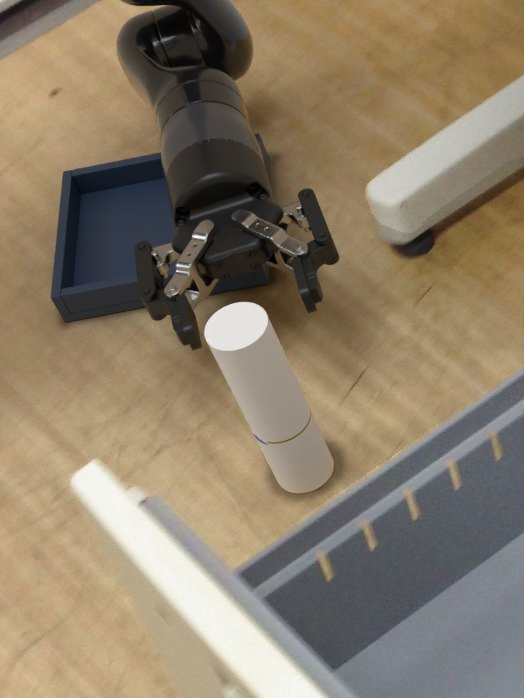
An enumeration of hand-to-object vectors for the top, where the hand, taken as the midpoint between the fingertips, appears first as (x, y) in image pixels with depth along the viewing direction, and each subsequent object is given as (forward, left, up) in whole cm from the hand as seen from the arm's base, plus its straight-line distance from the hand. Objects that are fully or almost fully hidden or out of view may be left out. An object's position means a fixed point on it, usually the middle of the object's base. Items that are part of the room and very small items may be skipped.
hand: (251, 322), depth 126 cm
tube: (+1, -7, -9) cm, 11 cm away
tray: (-10, +20, -9) cm, 24 cm away
